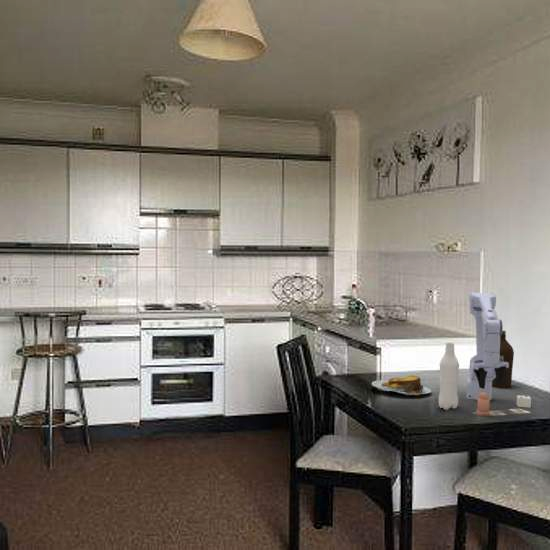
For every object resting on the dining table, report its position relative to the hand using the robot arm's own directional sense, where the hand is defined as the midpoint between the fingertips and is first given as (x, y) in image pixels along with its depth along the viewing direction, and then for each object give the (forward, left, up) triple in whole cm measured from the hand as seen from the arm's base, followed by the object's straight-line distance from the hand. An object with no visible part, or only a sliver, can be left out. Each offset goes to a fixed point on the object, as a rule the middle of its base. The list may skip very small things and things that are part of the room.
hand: (490, 387), depth 228 cm
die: (+11, +13, -9) cm, 19 cm away
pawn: (-1, -8, -8) cm, 12 cm away
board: (+5, -2, -9) cm, 11 cm away
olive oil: (-3, +50, -10) cm, 51 cm away
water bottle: (-14, -4, -10) cm, 18 cm away
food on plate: (-38, +15, -10) cm, 42 cm away
